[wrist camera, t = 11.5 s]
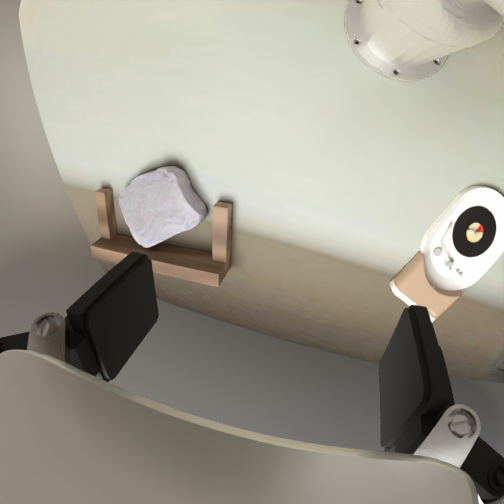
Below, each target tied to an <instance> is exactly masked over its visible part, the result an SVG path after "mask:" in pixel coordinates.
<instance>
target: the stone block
mask: <svg viewBox="0 0 504 504" xmlns="http://www.w3.org/2000/svg"><path fill="white" fill-rule="evenodd" d="M119 204H120V208H121V210H122V213H123V216H124V218H125V221H126V224H127V225H128V226H129V228H130V231H131V234H132V235H133V237H134V239H135V240H136V241H137V243H138V244H140V245H142V246H143V247H145V248H149V247H151V246H154V245H156V244H158V243H160V242H162V241H164V240H166V239H168V238H170V237H172V236H174V235H176V234H178V233H180V232H183V231H185V230H189V229H191V228H193V227H195V226H196V225H198V224H199V223H200V222H201V221H203V220H204V219H205V217H206V214H207V209H206V206H205V204H204V203H203V201H202V200H201V198H199V196H198V195H197V194H196V192H194V190H193V189H192V186H191V184H190V180H189V178H188V177H187V175H186V173H185V171H184V170H181V169H180V168H177V167H174V166H172V167H170V166H166V167H161V168H158V169H157V170H154V171H151V172H147V173H145V174H142V175H140V176H138V177H136V178H135V179H134V180H133V181H132V182H131V183H130V184H129V185H128V186H127V187H126V189H125V190H123V191H122V192H121V194H120V196H119Z"/></svg>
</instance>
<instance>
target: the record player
mask: <svg viewBox="0 0 504 504" xmlns="http://www.w3.org/2000/svg"><path fill="white" fill-rule="evenodd" d="M503 251H504V197H503V196H502V195H501V194H500V193H498V192H497V191H495V190H494V189H492V188H490V187H487V186H473V187H469V188H467V189H465V190H463V191H462V192H460V193H459V194H458V195H457V196H456V197H455V198H454V199H453V200H452V201H451V202H450V204H449V205H448V206H447V207H446V208H445V210H444V211H443V212H442V213H441V214H440V215H439V217H438V218H437V219H436V220H435V221H434V223H433V224H432V225H431V226H430V228H429V229H428V230H427V232H426V233H425V235H424V237H423V240H422V243H421V247H420V251H419V252H418V253H417V255H416V256H415V257H414V258H413V259H412V260H411V261H410V262H409V263H408V264H407V265H406V266H405V267H404V268H403V269H402V270H401V272H400V273H399V274H398V275H397V276H396V277H395V278H394V279H393V280H392V281H391V282H390V286H391V289H392V291H393V293H394V294H395V295H396V296H398V297H399V298H400V299H402V300H403V301H404V302H405V303H407V304H408V305H409V306H410V305H418V306H424V307H427V309H428V312H429V315H430V319H431V322H433V321H434V320H435V319H436V318H437V317H439V316H440V315H441V314H442V313H443V312H444V311H445V310H446V309H447V308H448V307H449V306H450V305H451V304H452V303H454V302H455V301H456V300H457V299H458V298H459V297H460V296H461V294H462V291H461V289H464V288H466V287H469V286H470V285H472V284H474V283H475V282H476V281H477V280H478V279H479V278H480V277H481V276H482V275H483V274H484V273H485V272H486V271H487V270H488V269H489V268H490V267H491V266H492V265H493V263H494V262H495V261H496V260H497V259H498V258H499V256H500V255H501V254H502V253H503Z"/></svg>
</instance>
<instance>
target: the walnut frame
mask: <svg viewBox="0 0 504 504" xmlns="http://www.w3.org/2000/svg"><path fill="white" fill-rule="evenodd" d="M95 195H96V204H97V212H98V219H99V226H100V232H101V238H100V239H99V240H97V241H96V242H95V243H93V244H92V245H91V246H90V247H91V252H92V257H96V258H99V259H103V260H107V261H111V262H115V263H119V262H120V261H121V260H122V259H124V258H125V257H126V256H127V255H128V254H129V253H131V252H132V251H135V252H140V253H145V254H147V255H148V258H150V259H151V261H152V269H153V272H155V273H159V274H164V275H168V276H172V277H176V278H181V279H185V280H189V281H194V282H198V283H203V284H207V285H212V286H216V287H219V285H220V284H221V282H222V280H223V279H224V277H225V276H226V274H227V272H228V271H229V269H230V254H231V229H232V206H233V203H227V202H220V201H218V202H217V203H216V204H215V205H214V206H213V233H212V253H210V252H205V251H200V250H195V249H189V248H184V247H179V246H174V245H169V244H163V243H158V244H156V245H154V246H151V247H149V248H145V247H143V246H142V245H140V244H138V243H137V241H136V240H135V239H134V238H132V237H127V236H122V235H117V229H116V221H115V213H114V203H113V193H112V189H110V188H102V189H100V190H98V191H96V192H95Z"/></svg>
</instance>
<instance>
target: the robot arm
mask: <svg viewBox="0 0 504 504" xmlns="http://www.w3.org/2000/svg"><path fill="white" fill-rule="evenodd" d="M357 1H359V2H360V3H361V4H358V3H357ZM503 22H504V0H351V1H350V2H349V4H348V7H347V9H346V13H345V23H344V25H345V31H346V35H347V38H348V41H349V43H350V45H351V46H352V48H353V50H354V52H355V53H356V54H357V55H358V56H359V58H360V59H361V60H362V61H363V62H365V63H366V64H367V65H368V66H369V67H370V68H372V69H374V70H375V71H377V72H378V73H380V74H382V75H385V76H387V77H390V78H393V79H397V80H404V81H412V80H419V79H423V78H426V77H429V76H431V75H433V74H434V73H435V72H437V71H438V70H439V69H440V68H441V67H442V66H443V64H444V63H445V61H446V59H447V56H448V54H451V53H454V52H457V51H460V50H462V49H465V48H468V47H471V46H474V45H477V44H479V43H482V42H484V41H487V40H488V39H490V38H492V37H493V36H494V35H495V34H496V33H497V32H498V31H499V30H500V28H501V27H502V25H503ZM355 41H358V42H359V44H355ZM434 60H435V61H436V62H437V64H435V63H434ZM394 71H397V73H398V74H397V75H395V74H394ZM66 312H67V315H68V316H67V317H66V318H64V317H63V315H61V314H59V313H55V312H49V313H45V314H42V315H40V316H39V317H37V318H36V319H35V320H34V321H33V323H32V324H31V327H30V332H26V333H21V334H16V335H12V336H7V337H2V338H0V504H504V458H503V457H502V456H501V455H500V454H498V453H497V452H496V451H495V450H494V449H493V448H492V447H490V446H489V445H488V444H487V443H486V442H485V441H483V440H482V439H481V438H480V437H479V436H478V435H479V432H480V421H479V418H478V416H477V414H476V413H475V412H474V411H473V410H472V409H471V408H469V407H467V406H465V405H461V404H459V405H455V404H454V399H453V394H452V389H451V385H450V380H449V376H448V372H447V368H446V364H445V361H444V357H443V353H442V350H441V348H440V346H439V345H438V342H437V338H436V335H435V331H434V328H433V325H432V322H431V319H430V315H429V312H428V309H427V307H424V306H418V305H410V307H409V308H405V309H404V311H403V313H402V315H401V318H400V320H399V322H398V324H397V327H396V329H395V331H394V333H393V335H392V338H391V340H390V342H389V344H388V346H387V348H386V350H385V352H384V354H383V356H382V358H381V361H380V364H379V382H380V413H381V414H380V415H381V446H382V447H385V452H384V451H370V450H360V449H351V448H342V447H334V446H327V445H320V444H313V443H307V442H301V441H295V440H289V439H284V438H279V437H274V436H269V435H265V434H261V433H256V432H252V431H248V430H243V429H239V428H236V427H232V426H228V425H225V424H221V423H217V422H214V421H211V420H207V419H204V418H201V417H197V416H194V415H191V414H188V413H185V412H182V411H179V410H176V409H173V408H170V407H168V406H165V405H162V404H159V403H157V402H154V401H151V400H149V399H146V398H144V397H141V396H138V395H136V394H134V393H131V392H129V391H126V390H124V389H122V388H119V387H117V386H115V385H113V384H110V383H108V382H109V381H110V380H113V379H114V378H115V377H116V376H117V374H118V373H119V372H120V370H121V369H122V367H123V366H124V365H125V363H126V362H127V361H128V359H129V358H130V357H131V355H132V354H133V352H134V351H135V349H136V348H137V347H138V346H139V344H140V343H141V342H142V340H143V339H144V338H145V336H146V335H147V333H148V332H149V331H150V329H151V328H152V327H153V325H154V324H155V323H156V321H157V319H158V307H157V300H156V292H155V285H154V277H153V269H152V261H151V259H150V258H148V255H147V254H145V253H140V252H135V251H132V252H131V253H129V254H128V255H127V256H126V257H125V258H124V259H122V260H121V261H120V262H119V263H118V264H117V265H116V266H114V267H113V268H112V269H111V270H110V271H109V272H108V273H106V274H105V275H104V276H103V277H102V278H101V279H100V280H99V281H98V282H96V283H95V284H94V285H93V286H92V287H91V288H90V289H89V290H88V291H87V292H85V294H83V295H82V296H81V297H80V298H79V299H78V300H77V301H76V302H75V303H74V304H73V305H72V306H71V307H69V308H68V309H67V310H66Z"/></svg>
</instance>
